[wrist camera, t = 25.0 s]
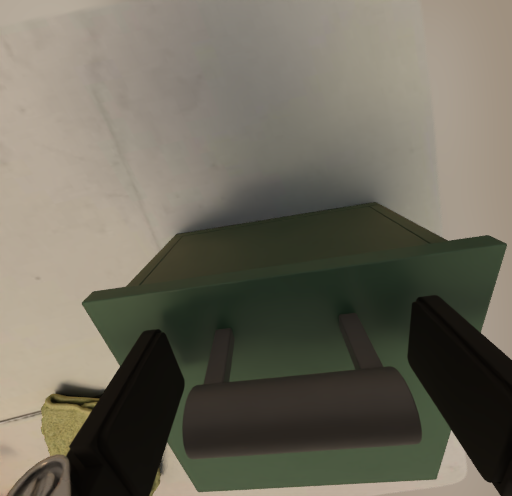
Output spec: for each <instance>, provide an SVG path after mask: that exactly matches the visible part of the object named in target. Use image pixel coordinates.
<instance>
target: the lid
mask: <svg viewBox="0 0 512 496" xmlns="http://www.w3.org/2000/svg"><path fill="white" fill-rule="evenodd" d="M506 246H507V244H506V243H504V242H502V241H500V240H497V239H495V238H493V237H491V236H488V235H486V236H479V237H472V238H465V239H459V240H451V241H444V242H437V243H430V244H423V245H416V246H409V247H402V248H395V249H388V250H381V251H374V252H367V253H360V254H353V255H346V256H339V257H332V258H325V259H318V260H311V261H304V262H297V263H290V264H283V265H276V266H269V267H262V268H255V269H248V270H241V271H234V272H227V273H220V274H213V275H206V276H199V277H192V278H185V279H178V280H171V281H164V282H157V283H150V284H143V285H136V286H129V287H122V288H115V289H108V290H101V291H94V292H92V293H91V294H90V295H89V296H88V297H87V298H86V299H85V300H84V301H83V302H82V305H83V307H84V308H85V310H86V311H87V313H88V315H89V316H90V318H91V320H92V321H93V323H94V324H95V326H96V328H97V329H98V331H99V332H100V334H101V336H102V337H103V339H104V341H105V342H106V344H107V345H108V347H109V349H110V350H111V352H112V354H113V355H114V357H115V358H116V360H117V362H118V363H119V365H120V366H121V365H122V363H123V361H124V360H125V358H126V357H127V355H128V354H129V352H130V351H131V349H132V347H133V346H134V344H135V343H136V341H137V340H138V338H139V336H140V335H141V333H142V332H143V331H146V330H154V329H160V330H161V332H164V333H165V334H166V336H167V338H168V341H169V343H170V346H171V348H172V351H173V353H174V355H175V358H176V360H177V363H178V365H179V367H180V370H181V372H182V375H183V377H184V380H185V387H184V391H183V394H182V397H181V400H180V404H179V407H178V410H177V413H176V416H175V419H174V422H173V425H172V428H171V431H170V434H169V438H168V441H167V443H168V444H169V446H170V447H171V449H172V451H173V452H174V454H175V456H176V457H177V459H178V460H179V462H180V464H181V465H182V467H183V469H184V470H185V472H186V473H187V475H188V477H189V478H190V480H191V481H192V483H193V485H194V486H195V488H196V490H197V491H198V492H209V491H228V490H247V489H265V488H284V487H303V486H321V485H340V484H359V483H377V482H396V481H415V480H433V479H437V475H438V472H439V469H440V465H441V462H442V459H443V455H444V452H445V449H446V446H447V442H448V439H449V436H450V432H451V428H450V427H449V425H448V424H447V422H446V421H445V419H444V418H443V416H442V415H441V413H440V412H439V410H438V408H437V407H436V405H435V404H434V402H433V401H432V399H431V398H430V396H429V395H428V393H427V392H426V390H425V389H424V387H423V385H422V384H421V382H420V381H419V379H418V378H417V376H416V375H415V373H414V372H413V370H412V369H411V367H410V365H409V362H408V358H407V354H408V343H409V331H410V320H411V309H412V303H413V302H416V299H417V298H418V297H423V296H431V295H438V296H439V297H441V298H442V299H443V300H444V301H445V302H446V303H447V304H448V305H450V306H451V307H452V308H453V309H454V310H455V311H456V312H458V313H459V314H460V315H461V316H462V317H463V318H464V319H466V320H467V321H468V322H469V323H470V324H471V325H472V326H473V327H475V328H476V329H477V330H478V331H479V332H480V333H481V330H482V326H483V323H484V320H485V316H486V313H487V310H488V306H489V303H490V300H491V297H492V293H493V290H494V287H495V283H496V280H497V276H498V273H499V270H500V266H501V263H502V260H503V257H504V254H505V250H506Z"/></svg>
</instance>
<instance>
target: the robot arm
mask: <svg viewBox="0 0 512 496" xmlns="http://www.w3.org/2000/svg"><path fill="white" fill-rule="evenodd" d="M407 358H408V362H409V365H410V367H411V369H412V370H413V372H414V373H415V375H416V376H417V378H418V379H419V381H420V382H421V384H422V385H423V387H424V389H425V390H426V392H427V393H428V395H429V396H430V398H431V399H432V401H433V402H434V404H435V405H436V407H437V408H438V410H439V412H440V413H441V415H442V416H443V418H444V419H445V421H446V422H447V424H448V425H449V427H450V428H451V430H452V432H453V433H454V435H455V436H456V438H457V439H458V441H459V442H460V444H461V445H462V447H463V448H464V450H465V451H466V453H467V455H468V456H469V458H470V459H471V460H472V462H473V464H474V465H475V467H476V468H477V470H478V471H479V473H480V474H481V476H482V477H483V478H484V479H485V480H486V481H487V482H490V483H491V482H492V483H493V485H494V486H495V488H496V489H497V491H498V492H499V494H500V495H501V496H512V360H511V359H510V358H509V357H508V356H506V355H505V354H504V353H503V352H502V351H501V350H500V349H498V348H497V347H496V346H495V345H494V344H493V343H492V342H490V341H489V340H488V339H487V338H486V337H485V336H484V335H482V334H481V333H480V332H479V331H478V330H477V329H476V328H475V327H473V326H472V325H471V324H470V323H469V322H468V321H467V320H466V319H464V318H463V317H462V316H461V315H460V314H459V313H458V312H456V311H455V310H454V309H453V308H452V307H451V306H450V305H448V304H447V303H446V302H445V301H444V300H443V299H442V298H441V297H439V296H438V295H431V296H423V297H418V298H417V299H416V302H413V303H412V309H411V320H410V331H409V343H408V354H407ZM184 387H185V380H184V377H183V375H182V372H181V370H180V367H179V365H178V363H177V360H176V358H175V355H174V353H173V351H172V348H171V346H170V343H169V341H168V338H167V336H166V334H165V333H164V332H161V330H160V329H154V330H146V331H143V332H142V333H141V335H140V336H139V338H138V340H137V341H136V343H135V344H134V346H133V347H132V349H131V351H130V352H129V354H128V355H127V357H126V358H125V360H124V361H123V363H122V365H121V366H120V368H119V369H118V371H117V372H116V374H115V375H114V377H113V379H112V380H111V382H110V383H109V385H108V386H107V388H106V389H105V391H104V393H103V394H102V396H101V397H100V399H99V400H98V402H97V404H96V405H95V407H94V408H93V410H92V411H91V413H90V414H89V416H88V418H87V419H86V421H85V422H84V424H83V425H82V427H81V428H80V430H79V432H78V433H77V435H76V436H75V438H74V439H73V441H72V442H71V444H70V446H69V448H70V450H69V452H68V453H67V455H66V456H64V455H58V454H56V455H53V456H50V457H47V458H46V459H44V460H42V461H40V462H38V463H37V464H36V465H35V466H33V467H32V468H31V469H29V470H28V471H27V472H26V473H25V474H24V475H23V476H22V477H21V478H20V479H19V480H18V481H17V483H16V484H15V485H14V486H13V488H12V489H11V490H10V491H9V493H8V495H7V496H149V495H150V493H151V490H152V487H153V484H154V481H155V478H156V475H157V472H158V468H159V465H160V462H161V459H162V456H163V453H164V450H165V447H166V444H167V441H168V438H169V434H170V431H171V428H172V425H173V422H174V419H175V416H176V413H177V410H178V407H179V404H180V400H181V397H182V394H183V391H184Z"/></svg>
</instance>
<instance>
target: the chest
mask: <svg viewBox="0 0 512 496" xmlns="http://www.w3.org/2000/svg"><path fill="white" fill-rule="evenodd" d="M444 241H447V240H446V239H444V238H442V237H440V236H438V235H436V234H434V233H432V232H431V231H429V230H427V229H425V228H423V227H421V226H419V225H418V224H416V223H414V222H412V221H410V220H408V219H406V218H404V217H403V216H401V215H399V214H397V213H395V212H393V211H391V210H390V209H388V208H386V207H384V206H382V205H380V204H378V203H376V202H373V203H367V204H361V205H354V206H348V207H342V208H336V209H330V210H323V211H317V212H311V213H305V214H299V215H293V216H286V217H280V218H274V219H268V220H262V221H255V222H249V223H243V224H237V225H231V226H225V227H218V228H212V229H206V230H200V231H194V232H187V233H181V234H176V235H175V236H174V237H173V238H172V239H171V240H170V241H169V242H168V243H167V244H166V245H165V246H164V248H163V249H162V250H161V251H160V252H159V253H158V254H157V255H156V256H155V257H154V258H153V259H152V260H151V261H150V262H149V263H148V264H147V265H146V266H145V267H144V268H143V269H142V271H141V272H140V273H139V274H138V275H137V276H136V277H135V278H134V279H133V280H132V281H131V282H130V283H129V284H128V285H127V286H126V287H129V286H136V285H143V284H150V283H157V282H164V281H171V280H178V279H185V278H192V277H199V276H206V275H213V274H220V273H227V272H234V271H241V270H248V269H255V268H262V267H269V266H276V265H283V264H290V263H297V262H304V261H311V260H318V259H325V258H332V257H339V256H346V255H353V254H360V253H367V252H374V251H381V250H388V249H395V248H402V247H409V246H416V245H423V244H430V243H437V242H444Z"/></svg>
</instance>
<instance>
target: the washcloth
mask: <svg viewBox="0 0 512 496" xmlns="http://www.w3.org/2000/svg"><path fill="white" fill-rule="evenodd" d="M99 399H100V398H86V397H69V396H64V395H60V394H52V395H50V396H49V397H48V398H46V400H45V404H44V405H43V407H42V408H41V411H42V413H41V414H42V416H43V418H42V427H41V430H42V434H43V435H44V436H45V442H46V443H47V446H48V448H49V449H48V452H49V451H50V452H49V453H50V456H53V455H56V454H58V455H64V456H66V455H67V453H68V452H69V450H70V448H69V446H70V444H71V442H72V441H73V439H74V438H75V436H76V435H77V433H78V432H79V430H80V428H81V427H82V425H83V424H84V422H85V421H86V419H87V418H88V416H89V414H90V413H91V411H92V410H93V408H94V407H95V405H96V404H97V402H98V400H99ZM159 471H160V470H159V468H158V472H157V475H156V478H155V481H154V484H153V487H152V490H151V493H150V495H149V496H152V495H153V493H154V491H155V490H156V489H157V487H158V485H159V484H160V476H161V474H160V472H159Z"/></svg>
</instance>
